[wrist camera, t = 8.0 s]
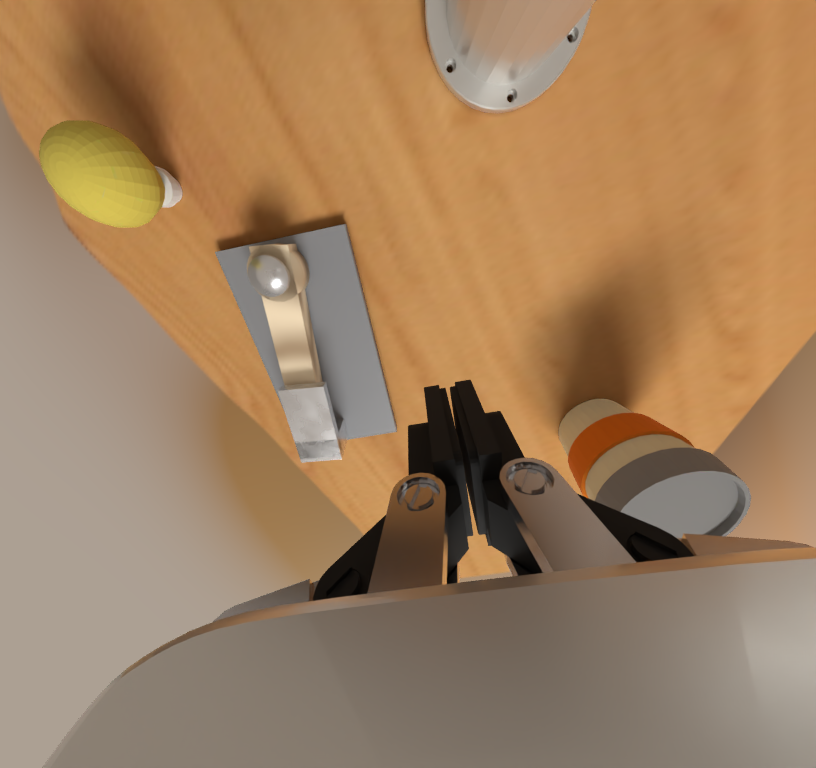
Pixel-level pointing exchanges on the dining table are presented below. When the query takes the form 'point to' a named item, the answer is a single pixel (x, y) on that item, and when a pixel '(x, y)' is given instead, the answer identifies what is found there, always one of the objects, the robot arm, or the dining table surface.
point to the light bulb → (105, 174)
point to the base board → (325, 327)
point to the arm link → (291, 318)
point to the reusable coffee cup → (650, 471)
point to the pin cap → (268, 275)
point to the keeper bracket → (313, 422)
